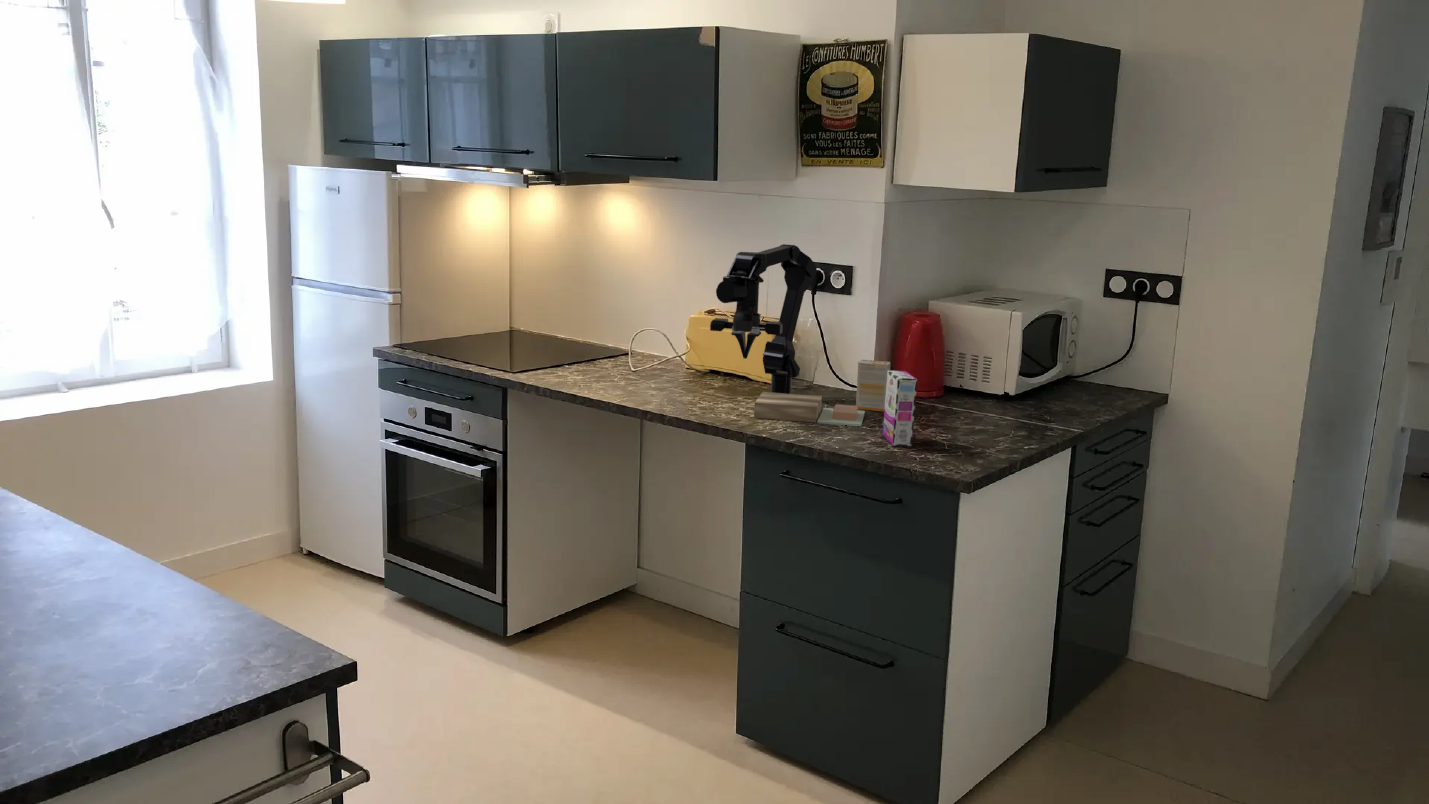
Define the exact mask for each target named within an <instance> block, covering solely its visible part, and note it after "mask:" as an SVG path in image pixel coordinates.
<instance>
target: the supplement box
mask: <svg viewBox="0 0 1429 804" xmlns="http://www.w3.org/2000/svg"><path fill="white" fill-rule="evenodd" d="M887 371H891V361H883V360H871V359H870V360H868V359H861V360H859V361H858V362H857V380H856V397H855V398H856V399H855V401H856V402H855V406H858V410H860V411H874V412H883V413H884V409H885V396H886V384H887Z"/></svg>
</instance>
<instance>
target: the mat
mask: <svg viewBox="0 0 1429 804" xmlns="http://www.w3.org/2000/svg"><path fill="white" fill-rule="evenodd" d="M833 409H834V408H827V407H826V408H825V407H823V408H822V410H821V413H820V415H819V417H818V419H817V424H819V425H821V424H823V425H831V426H832V425H833V426H845V425H847V426H848V427H858V426H859V427H860V428H861V427H862V426H863V425H862V424H863V420H864V418H865V413H866V410H858V415H857V418H856V421H849V420H836V419H832V414H833ZM847 426H846V427H847Z"/></svg>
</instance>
